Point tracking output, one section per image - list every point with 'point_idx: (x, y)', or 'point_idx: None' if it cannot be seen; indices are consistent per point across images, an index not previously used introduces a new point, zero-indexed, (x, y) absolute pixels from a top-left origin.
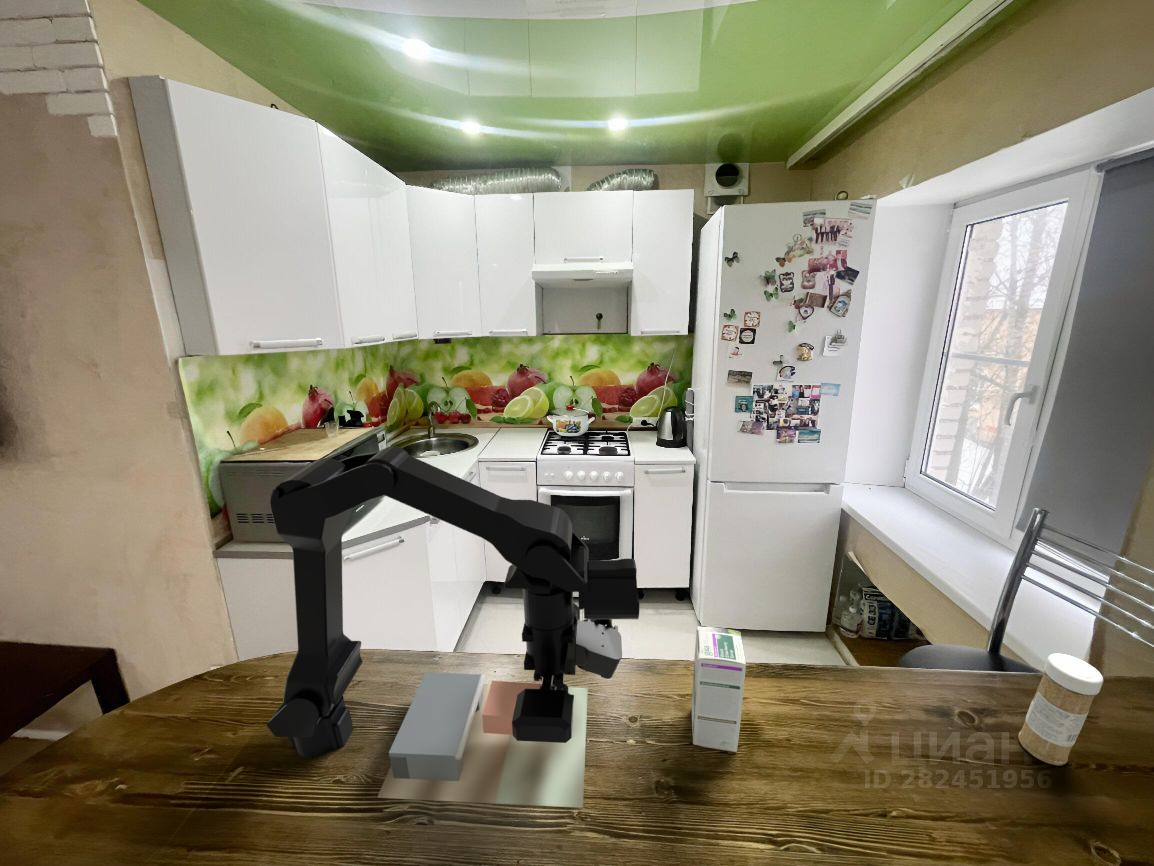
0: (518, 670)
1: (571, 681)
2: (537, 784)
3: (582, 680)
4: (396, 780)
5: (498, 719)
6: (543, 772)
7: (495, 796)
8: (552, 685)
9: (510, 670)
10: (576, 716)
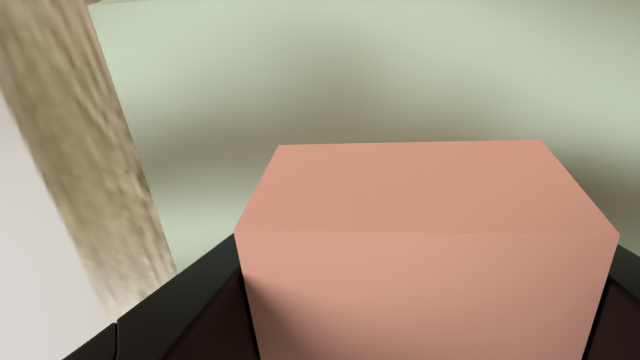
0: (116, 283)
1: (79, 90)
2: (609, 182)
3: (51, 36)
4: None
5: None
6: None
7: None
8: (263, 329)
9: (127, 304)
10: (268, 48)
